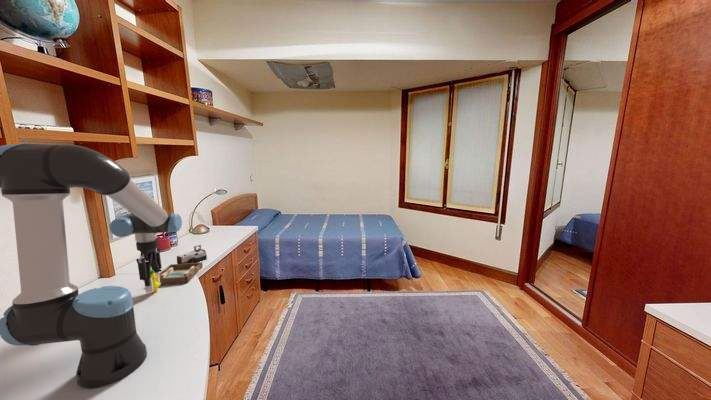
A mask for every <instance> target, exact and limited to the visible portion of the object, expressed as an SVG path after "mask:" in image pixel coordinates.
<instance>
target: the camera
mask: <svg viewBox="0 0 711 400" xmlns="http://www.w3.org/2000/svg"><path fill="white" fill-rule="evenodd" d="M197 247H198V248H197ZM207 259H208V255H207V251H206V249H203V248H202V245H201V244H198V245H195V246H193V250H191V251H189V252H186V253H183V254H178V255H176V264H186V263H201V262H204V261H207ZM203 260H204V261H203ZM200 261H201V262H200Z"/></svg>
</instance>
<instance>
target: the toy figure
mask: <svg viewBox="0 0 711 400" xmlns="http://www.w3.org/2000/svg"><path fill="white" fill-rule="evenodd" d="M150 278H152V282H153V289H154V291H153V292H151V294H157V293H158V289H159V287H161V286H160V284H161V283H158V282H156V278H157V276H156V275H155V272H154V270H152V269H151V274H150ZM142 281H143V282H144V280H142Z"/></svg>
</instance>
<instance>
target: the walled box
mask: <svg viewBox="0 0 711 400" xmlns="http://www.w3.org/2000/svg"><path fill="white" fill-rule="evenodd" d="M203 267H204V266H203V262H198V263H186V264H177V263H175V264H174V263H173V264H169V265H168V266H167V267H165V268H164V269H163V270H161V272H159V277H160V283H161V285H160V286H159V287H162V286H170V285H180V284H181V285H182V284H188V283H189V282H190V281H191V280H192V279H193V278H194V277H195V276H196V275H197V274H198V273H199V272H200V271H199V270H202V269H203Z"/></svg>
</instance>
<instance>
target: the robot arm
mask: <svg viewBox="0 0 711 400" xmlns="http://www.w3.org/2000/svg"><path fill="white" fill-rule="evenodd" d="M131 177H132V176H131V174H130V173H129V172H128V171H127V170H126V168H124V167H123V166H121V165H120V164H119V163H118V162H116V161H115V160H113V159H111V158H110V157H108V156H106V155H105V154H103V153H101V152H99V151H96V150H94V149H92V148H89V147H85V146H82V145H76V144H52V143H49V144H46V143H19V144H18V143H16V144H15V143H14V144H4V145H0V190H1V196H2V197H3V198H5V199H7V200H9V201H10V202H11V203H12V208H13V209H12V210H13V211H12V212H13V220H14V221H13V222H14V231H15V242H16V250H17V252H16V254H17V262H18V263H17V265H18V274H19V283H20V284H19V285H20V293H19V294H18V295H17V296H16V297H14V298H13V299H12V305H10V306H9V307H8V308H7V309H6V310H4V312H3V314H2V315H3V317H1V318H0V338H1V339H2V340H3V341H4V342H6V343H7V344H10V345H12V346H16V347H17V346H28V347H29V346H32V347H34V346H40V345H45V344H47V345H48V344H54V343H64V342H65V343H66V342H73V341H75V342H76V341H79V343H80V348H81V349H80V350H81V355H80V358H79V362H78V366H77V369H76V371H75V378H76V383H77V385H78V386H79V387H80V388H85V389H88V388H89V389H90V388H91V389H92V388H97V387H102V386H106V385H108V384H111V383H114V382H116V381H118V380H120V379H122V378H125V377H127V376H128V375H130V374H131V373H133V372H134V371H136V369H138V368H139V367H140V366H141V365H142V364H143V363H144V362H145V360H146V359H147V356H148V352H147V346H146V343H144V342H143V340H142V339H141V337H140V336H139V334H138V332H137V326H136V318H135V309H134V304H135V303H134V300H133V297H132V293H131V291H130V290H129V289H128V288H126V287H124V286H119V285H107V286H101V287H94V288H91V289H88V290H85V291H82V292H81V293H79V287H78V285H75V284H73V283H71V282H70V272H69V271H70V270H69V258H68V248H67V247H68V246H67V235H66V223H65V221H66V220H65V212H64V211H65V210H64V200H65V199H66V198H67V197H68V196H70V195H71V188H73V189H74V188H78V189H79V188H81V189H87V190H91V191H93V192H95V193H96V194H98V195H100V196H107V197H109V199H111V200H113V201H114V202H115V203H116V204H118V205H120V206H121V207H122V208H124V209H125V210H127V211H128V212H129V214H126V215H123V216H119V217H118V218H115V219H113V220H112V221H111V222H110V223H109V231H110V233H111V234H112V235H114V236H115V237H119V238H123V237H129V236H130V235H134V240H135V244H136V245H135V246H136V251H138V252H140V254H139V255H140V257H139V258H136V260H135V261H136V263H137V268H138V275H139V276H138V277H139V280H140V281H143V280H144V281H143V282H144V289H145V293H152V292H153V291H154V289H153V282H152V278H150V274H151V270H154V272H155V275H156V276H157V278H156V282H158V283H160V277H159V273H160V272H162V267H163V266H162V259H161V249H160V248H158V247H159V240H158V239H157V238H158V234H163V233H169V234H170V233H177V232H179V231H180V230H181V228H182V224H183V220H182V216H181V215H180V214H178V213H168V212H167V210H165V209H164V208H163V207H162V206H161V205H160V204H158V203H157V202H156V201H155V200H154V199H153V198H152V197H151V196H149V195H148V194H147V192H145V191H144V190H143V189H141V188H140V186H138V184H136V183H135V182H134V181H133V180H132V178H131ZM160 285H161V284H160Z"/></svg>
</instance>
